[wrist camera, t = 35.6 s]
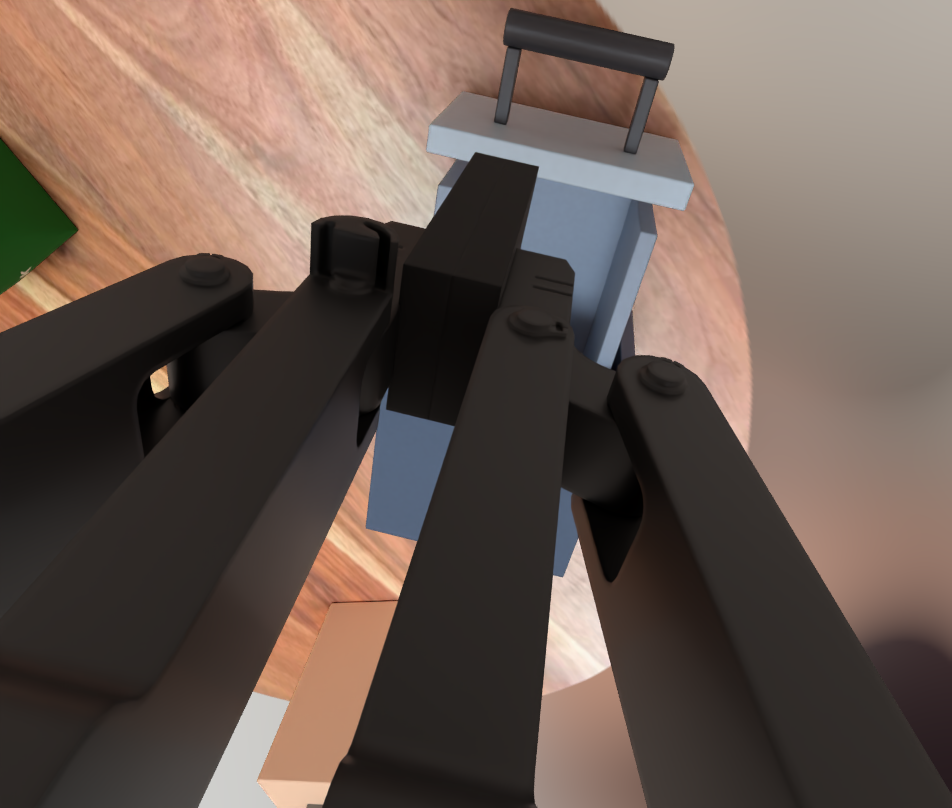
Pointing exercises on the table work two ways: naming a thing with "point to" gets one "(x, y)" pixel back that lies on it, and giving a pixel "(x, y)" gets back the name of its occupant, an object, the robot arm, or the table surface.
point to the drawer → (578, 169)
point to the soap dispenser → (326, 704)
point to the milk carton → (26, 221)
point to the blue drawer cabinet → (418, 466)
